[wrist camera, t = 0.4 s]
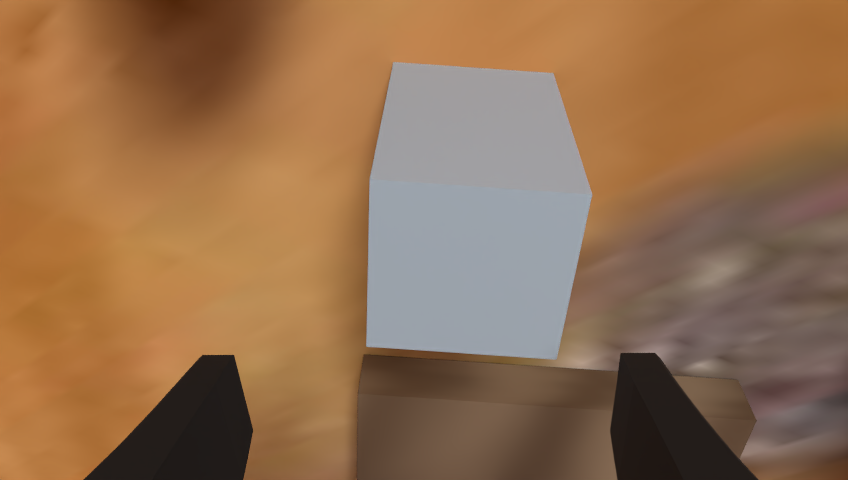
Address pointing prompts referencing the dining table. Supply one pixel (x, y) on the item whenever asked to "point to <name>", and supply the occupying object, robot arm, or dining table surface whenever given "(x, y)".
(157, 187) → the dining table surface
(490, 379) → the walnut board
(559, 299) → the blue-grey block
